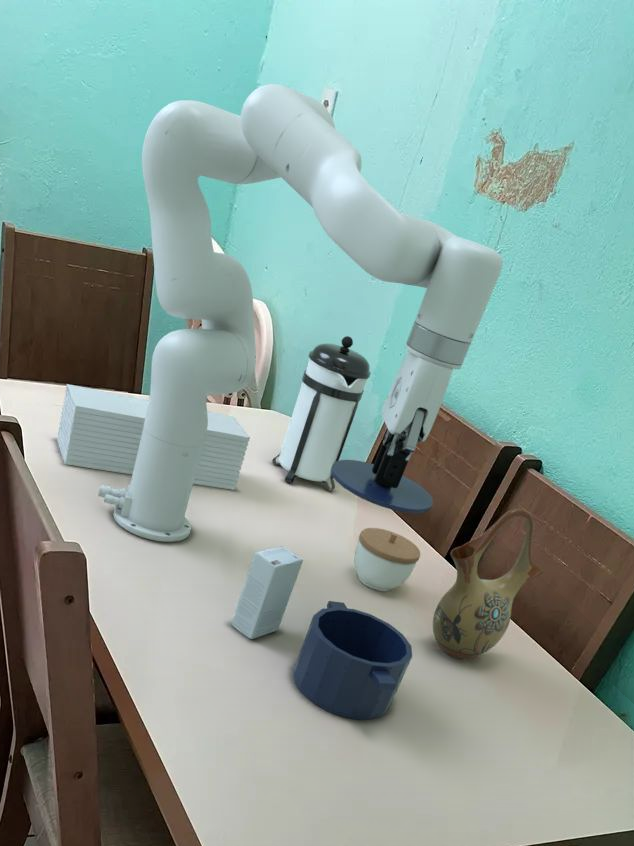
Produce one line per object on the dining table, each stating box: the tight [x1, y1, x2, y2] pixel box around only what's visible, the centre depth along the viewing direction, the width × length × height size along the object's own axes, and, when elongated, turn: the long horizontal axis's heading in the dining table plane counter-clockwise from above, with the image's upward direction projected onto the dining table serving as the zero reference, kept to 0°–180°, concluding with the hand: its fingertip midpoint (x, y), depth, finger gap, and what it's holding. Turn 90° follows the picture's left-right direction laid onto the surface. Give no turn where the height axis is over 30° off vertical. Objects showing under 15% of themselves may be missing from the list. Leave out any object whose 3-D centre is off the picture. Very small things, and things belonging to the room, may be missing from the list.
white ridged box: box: [56, 383, 251, 491], centre depth 160 cm, size 32×11×11 cm, turn 110°
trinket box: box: [353, 527, 421, 592], centre depth 147 cm, size 11×11×9 cm
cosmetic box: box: [231, 545, 304, 640], centre depth 120 cm, size 6×4×12 cm
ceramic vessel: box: [432, 508, 545, 660], centre depth 130 cm, size 16×9×25 cm, turn 107°
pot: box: [292, 600, 413, 720], centre depth 115 cm, size 14×19×8 cm
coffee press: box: [272, 335, 372, 492], centre depth 178 cm, size 17×16×30 cm
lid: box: [331, 442, 434, 514], centre depth 116 cm, size 15×15×7 cm
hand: (384, 479), depth 117 cm, fingers closed on lid, 2 cm apart
